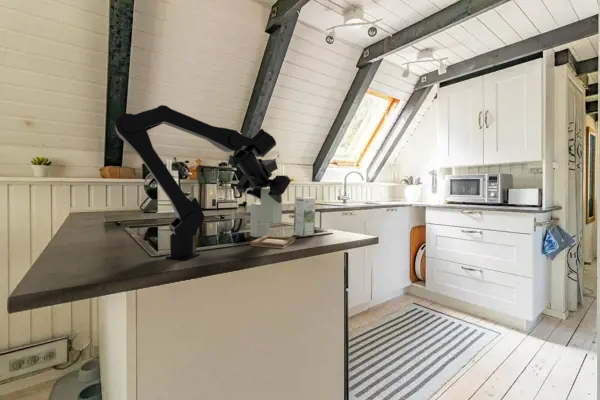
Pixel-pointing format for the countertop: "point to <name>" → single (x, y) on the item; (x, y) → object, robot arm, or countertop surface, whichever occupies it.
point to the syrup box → (304, 216)
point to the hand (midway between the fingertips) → (274, 201)
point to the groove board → (273, 241)
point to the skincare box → (258, 222)
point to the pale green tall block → (270, 208)
